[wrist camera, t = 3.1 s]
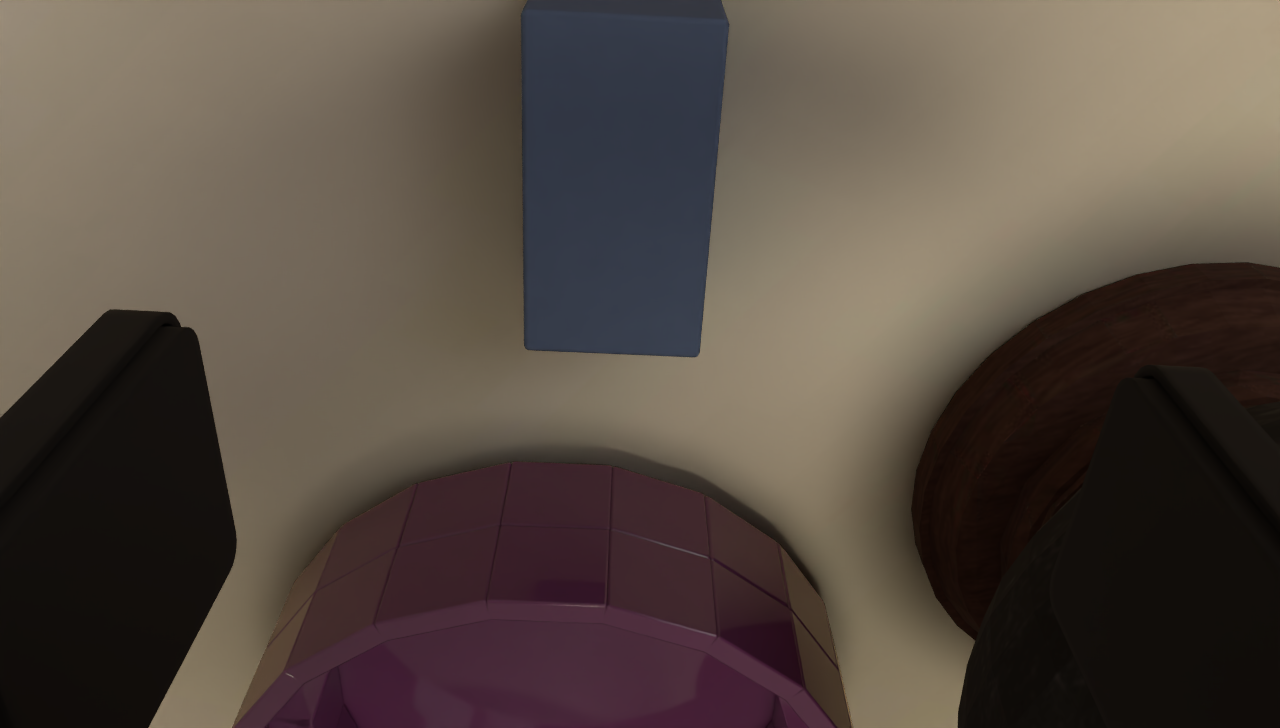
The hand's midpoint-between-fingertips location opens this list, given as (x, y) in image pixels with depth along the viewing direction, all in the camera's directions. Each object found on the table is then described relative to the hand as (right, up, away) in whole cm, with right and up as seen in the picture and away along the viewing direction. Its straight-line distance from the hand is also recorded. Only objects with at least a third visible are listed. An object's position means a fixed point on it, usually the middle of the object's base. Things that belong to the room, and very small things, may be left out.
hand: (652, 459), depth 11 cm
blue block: (-1, +5, +9) cm, 10 cm away
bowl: (-2, -7, +16) cm, 17 cm away
